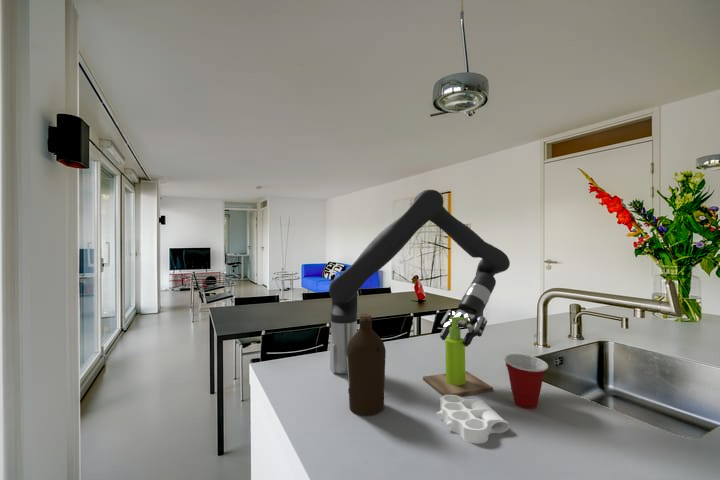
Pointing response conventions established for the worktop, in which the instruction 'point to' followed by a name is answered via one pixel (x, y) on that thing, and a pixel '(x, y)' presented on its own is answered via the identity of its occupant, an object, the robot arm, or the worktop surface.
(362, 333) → the olive oil
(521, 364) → the plastic cup
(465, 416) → the white flat holed block
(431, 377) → the soap board
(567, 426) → the worktop surface
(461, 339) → the soap dispenser
